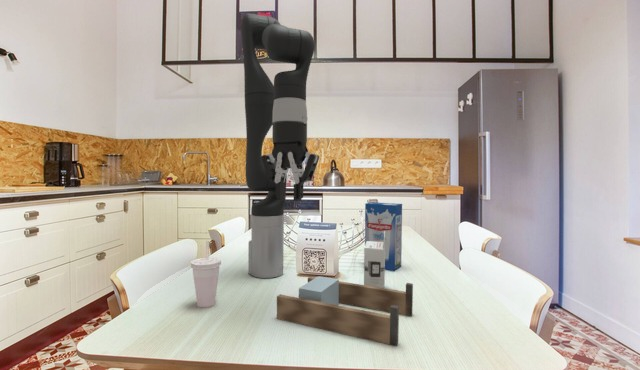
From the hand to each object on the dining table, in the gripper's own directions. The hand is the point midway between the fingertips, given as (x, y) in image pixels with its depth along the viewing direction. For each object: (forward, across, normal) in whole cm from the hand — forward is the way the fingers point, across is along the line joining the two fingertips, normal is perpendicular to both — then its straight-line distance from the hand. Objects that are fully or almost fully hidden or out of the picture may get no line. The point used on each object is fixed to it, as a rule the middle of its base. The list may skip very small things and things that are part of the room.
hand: (289, 200), depth 73 cm
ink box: (+23, +14, +17) cm, 32 cm away
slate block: (+23, +8, 0) cm, 25 cm away
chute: (+23, +14, 0) cm, 27 cm away
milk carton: (+23, +10, +40) cm, 48 cm away
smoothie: (+23, -16, -8) cm, 30 cm away
